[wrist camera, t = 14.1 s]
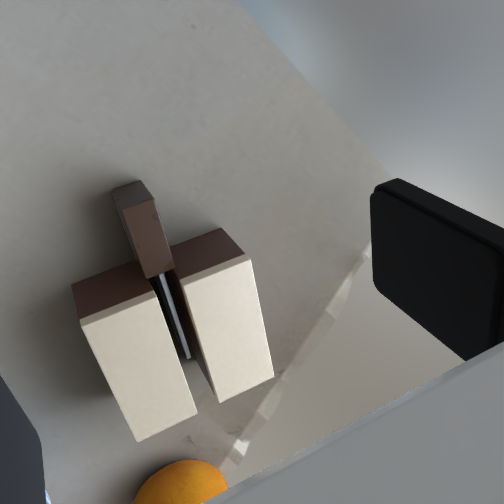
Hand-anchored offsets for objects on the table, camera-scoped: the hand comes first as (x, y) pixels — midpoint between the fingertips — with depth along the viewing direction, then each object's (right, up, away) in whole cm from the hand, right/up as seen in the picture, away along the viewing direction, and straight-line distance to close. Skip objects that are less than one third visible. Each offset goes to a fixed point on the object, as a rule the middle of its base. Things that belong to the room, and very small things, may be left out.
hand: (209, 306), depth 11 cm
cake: (-6, -4, +32) cm, 33 cm away
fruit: (-8, -24, +42) cm, 49 cm away
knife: (-7, +1, +29) cm, 30 cm away
